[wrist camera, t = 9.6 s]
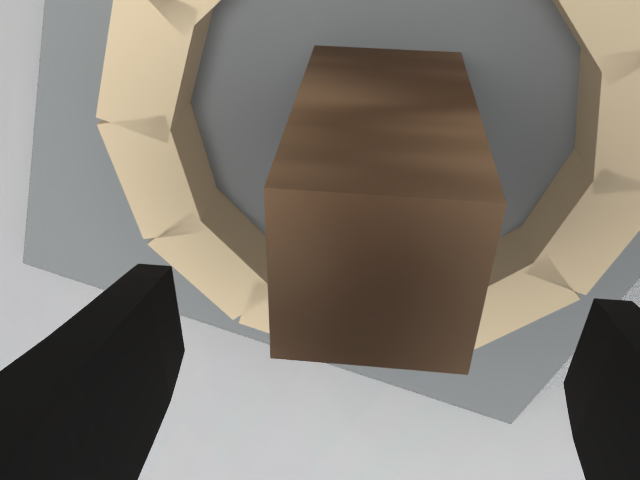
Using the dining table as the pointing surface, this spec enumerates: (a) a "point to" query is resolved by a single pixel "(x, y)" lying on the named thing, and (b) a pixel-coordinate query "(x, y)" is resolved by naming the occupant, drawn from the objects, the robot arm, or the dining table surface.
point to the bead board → (266, 132)
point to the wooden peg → (381, 213)
